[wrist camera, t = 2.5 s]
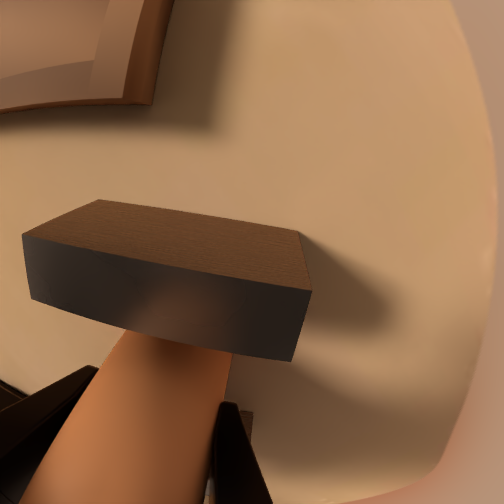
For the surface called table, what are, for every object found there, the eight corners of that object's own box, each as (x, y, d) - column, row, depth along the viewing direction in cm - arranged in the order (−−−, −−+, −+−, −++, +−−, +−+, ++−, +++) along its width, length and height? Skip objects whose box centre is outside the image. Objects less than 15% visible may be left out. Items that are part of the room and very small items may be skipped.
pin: (238, 399, 11) (203, 623, 2) (126, 373, 11) (32, 561, 2) (258, 299, 9) (214, 649, 1) (117, 271, 9) (-73, 498, 1)
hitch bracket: (247, 433, 12) (240, 500, 8) (117, 403, 12) (88, 460, 8) (297, 230, 8) (311, 290, 5) (98, 199, 8) (21, 234, 5)
